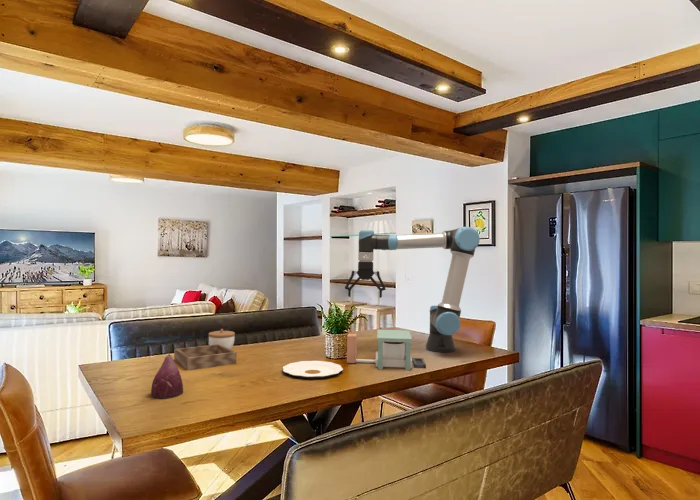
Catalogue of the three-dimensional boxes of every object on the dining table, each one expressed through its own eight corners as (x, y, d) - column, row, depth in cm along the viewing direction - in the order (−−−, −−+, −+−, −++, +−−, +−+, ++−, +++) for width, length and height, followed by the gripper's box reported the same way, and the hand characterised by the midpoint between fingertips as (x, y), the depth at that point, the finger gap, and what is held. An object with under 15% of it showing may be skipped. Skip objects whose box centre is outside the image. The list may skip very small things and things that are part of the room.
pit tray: (414, 367, 201) (414, 364, 201) (412, 361, 213) (412, 357, 213) (425, 368, 200) (425, 364, 200) (423, 361, 212) (423, 358, 212)
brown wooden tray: (219, 354, 219) (219, 344, 219) (236, 363, 202) (236, 352, 202) (174, 360, 207) (174, 349, 207) (188, 370, 190) (188, 358, 190)
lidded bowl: (239, 350, 228) (240, 328, 228) (220, 355, 218) (220, 332, 218) (222, 347, 235) (222, 326, 235) (202, 351, 225) (203, 329, 225)
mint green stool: (376, 369, 197) (377, 337, 197) (376, 357, 218) (377, 329, 218) (411, 370, 196) (412, 339, 196) (408, 358, 217) (409, 330, 217)
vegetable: (157, 399, 163) (156, 356, 166) (187, 395, 163) (185, 352, 167) (146, 401, 152) (145, 355, 156) (177, 397, 153) (176, 351, 157)
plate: (350, 368, 199) (350, 364, 199) (329, 383, 175) (329, 378, 175) (298, 362, 207) (298, 358, 207) (271, 376, 183) (271, 372, 183)
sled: (346, 365, 201) (346, 338, 201) (348, 357, 217) (348, 331, 217) (412, 367, 199) (412, 340, 199) (409, 359, 215) (410, 333, 215)
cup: (403, 367, 201) (403, 344, 201) (380, 365, 203) (381, 343, 203) (405, 362, 211) (405, 340, 211) (383, 360, 213) (384, 339, 213)
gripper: (340, 260, 224) (339, 303, 224) (391, 262, 223) (390, 305, 223) (341, 260, 232) (340, 302, 232) (390, 261, 230) (389, 303, 230)
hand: (364, 303), depth 227 cm, fingers open, 13 cm apart
